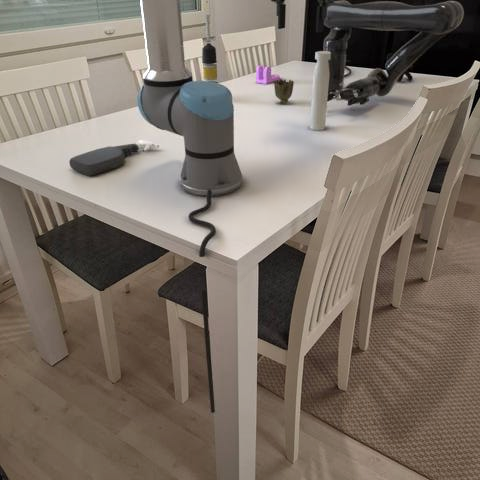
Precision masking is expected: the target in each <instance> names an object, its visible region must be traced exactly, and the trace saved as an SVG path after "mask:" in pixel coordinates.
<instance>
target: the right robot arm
mask: <svg viewBox="0 0 480 480" xmlns="http://www.w3.org/2000/svg"><path fill="white" fill-rule="evenodd" d="M464 16H465V11H464V7H463V5H462V4H461V3H460V2H458V1H456V0H447V1H443V2H438V3H434V4H425V5H411V4H407V3H405V2H404V3H403V2H399V1H391V0H390V1H389V0H387V1H370V2H365V3H364V2H363V3H357V4H352V3H351V2H349V1H348V0H334V3H332V4H329V5H328V6H327V17H326V19H324V27H327V28H328V29H330V31H329V34H328V35H327V36H325V38H324V39H323V50H322V51H328V52H331V57H330V60H328V63H329V71H330V72H329V74H330V75H329V86H328V98H327V103H328V102H330V101H334V100H335V101H338V102H340V101H344V102H347V106H348V107H351V106H353V105H365V104H367V103H369V102H370V98H371V97H373V96H375V95H376V96H378V97H381V98H382V97H385V96H387V95H388V94H389V93H390V92H391V91H392V90H393V88H394V87H395V84H396V83H397V82H398V81H397V79H398V78H399V77H400V75H401V74H402V73H403V72H404V71H405V70H406V69H407V70H408V67H410V66H411V65H412V64H413V65H414V63H415V62H416V61H417V60H418V59H419V57H421V56H422V55H423V54H424V53H426V51H428V50H429V49H430V48H431V47H432V46H433V45H434V44H435V43H436V42H438V41H439V40H441V39H442V38H443V37H445V36H446V35H447V34H449V33H451V32H452V31H454V30H455V29H456V28H458V27H459V26H460V24H461V23H462V21H463V19H464ZM352 28H358V29H363V30H364V29H365V30H373V31H383V32H384V31H385V32H398V31H399V32H402V31H403V32H404V31H414V32H419V33H418V34H416V35H415V36H414V37H412V39H410V40H409V41H408V42H406V43H405V44H404V45H402V46H401V47H400V48H399V49H398V50H397V51H396V52H395V53H393V54H394V55H393V56H392V57H390V59H389V60H388V61H386V63H385V64H384V69H385V71H386V72H385V71H384V70H383V69H382V68H379V67H377V68H374V69H372V70H371V71H370V72H369V73H368V75H367V76H366V77H365V78H360V79H357V80H355V81H352V82H349V83H348V84H347V85H346V86H345V88H344V83H345V82H344V81H345V78H346V77H348V76H350V75H351V74H352V69H351V68H349V67H348V66H346V63H348V64H352V62H351V60H350V59H347V50H348V42H349V40H350V38H351V33H352ZM345 70H348V73H346V74H345Z"/></svg>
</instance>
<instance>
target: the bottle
mask: <svg viewBox="0 0 480 480" xmlns="http://www.w3.org/2000/svg"><path fill="white" fill-rule="evenodd" d="M329 72H330V71H329V63H328V60H316V63H315V66H314V70H313V78H312V91H311V94H312V95H311V105H310V121H309V128H310V130H313V131H324V130H325V129H326V120H327V108H328V102H327V98H328V86H329V75H330V74H329Z"/></svg>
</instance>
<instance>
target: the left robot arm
mask: <svg viewBox="0 0 480 480" xmlns="http://www.w3.org/2000/svg"><path fill="white" fill-rule="evenodd" d="M270 1H271V2H273V3H275V4H276V7H275V8H276V10H275V11H276V13H275V14H276V17H277V30H283V29H286V11H287V10H286V8H287V3H285V1H286V0H270ZM334 1H335V0H317V3H318V4H319V5H318V6H317V8H316V9H317V10H316V21H315V22H316V24H315V33H321V32H324V27H325V25H324V19H326V17H327V6H328V5H329V4H332V3H334ZM140 9H141V17H142V25H143V34H144V39H145V40H144V42H145V50H146V58H147V66H148V68H147V69H146V71H145V72H144V74H142V80H143V83H142V84H141V86H140V90H138V92H137V107H138V110H139V113H140V115H141V116H142V118H143V119H144V120H145V121H146V122H147V123H148V124H150V125H152V126H154V127H155V128H157V129H159V130H161V131H166V132H169V133H172V134H175V135H178V136H181V137H183V141H184V142H183V143H184V154H185V155H184V158H183V164H182V168H181V171H180V176H179V183H180V184H179V185H180V188H181V189H182V191H184V192H186V193H187V194H190V195H194V196H199V197H206V204H205V205H204V206H202V207H200V208H198V209H194V210H192V211H190V212H189V214H188V221H190V222H191V223H193V224H195V225H200V226H203V227H206V228H208V229H210V232H209V233H208V234H207V235H205V237H204V238H203V239H202V241H201V244H200V247H199V255H198V256H199V257H200V258H204V257H205V255H206V254H205V253H206V247H207V244H208V243H209V242H210V240H211V239H212V238H214V236H215V235H216V233H217V229H216V227H215V225H214V224H212V223H210V222H209V221H205V220H201V219H198V218H196V217H195V216H196V215H198V214H202V213H204V212H206V211H208V210H209V209H210V208H211V206H212V197H221V196H224V195H229V194H232V193H234V192H235V191H237V190H239V189H240V188H241V187H242V185H243V174H242V171H241V168H240V165H239V163H238V160H237V157H236V154H235V125H234V124H235V121H234V119H235V115H234V114H235V113H234V112H235V110H234V109H235V106H234V102H233V94H232V92H231V90H230V89H229V87H227V86H226V85H223V84H221V83H219V82H218V83H215V82H216V81H215V82H207V80H193V72H192V71H191V70H190V69H189V68H188V67H186V66H187V65H186V60H185V47H184V37H183V36H184V35H183V24H182V12H181V11H182V10H181V0H140ZM201 302H202V303H201V304H202V317H203V318H202V319H203V329H204V330H203V332H204V344H205V355H206V357H205V358H206V366H207V368H206V369H207V380H208V381H207V382H208V392H209V404H210V405H209V406H210V413H211V414H214V413H216V407H215V405H216V404H215V391H214V380H213V367H212V354H211V353H212V351H211V340H210V325H209V309H208V293H207V291H205V290H204V289H201Z"/></svg>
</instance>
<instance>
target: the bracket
mask: <svg viewBox="0 0 480 480" xmlns="http://www.w3.org/2000/svg"><path fill="white" fill-rule="evenodd" d="M280 79H281V75H279V74H272V67H271V66H265V67H264V66H263V65H257V66H256V67H255V83H258V84H262V85H263V84H264V85H267V84H271V83H274V81H276V82H277V80H278V81H279V80H280Z"/></svg>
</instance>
